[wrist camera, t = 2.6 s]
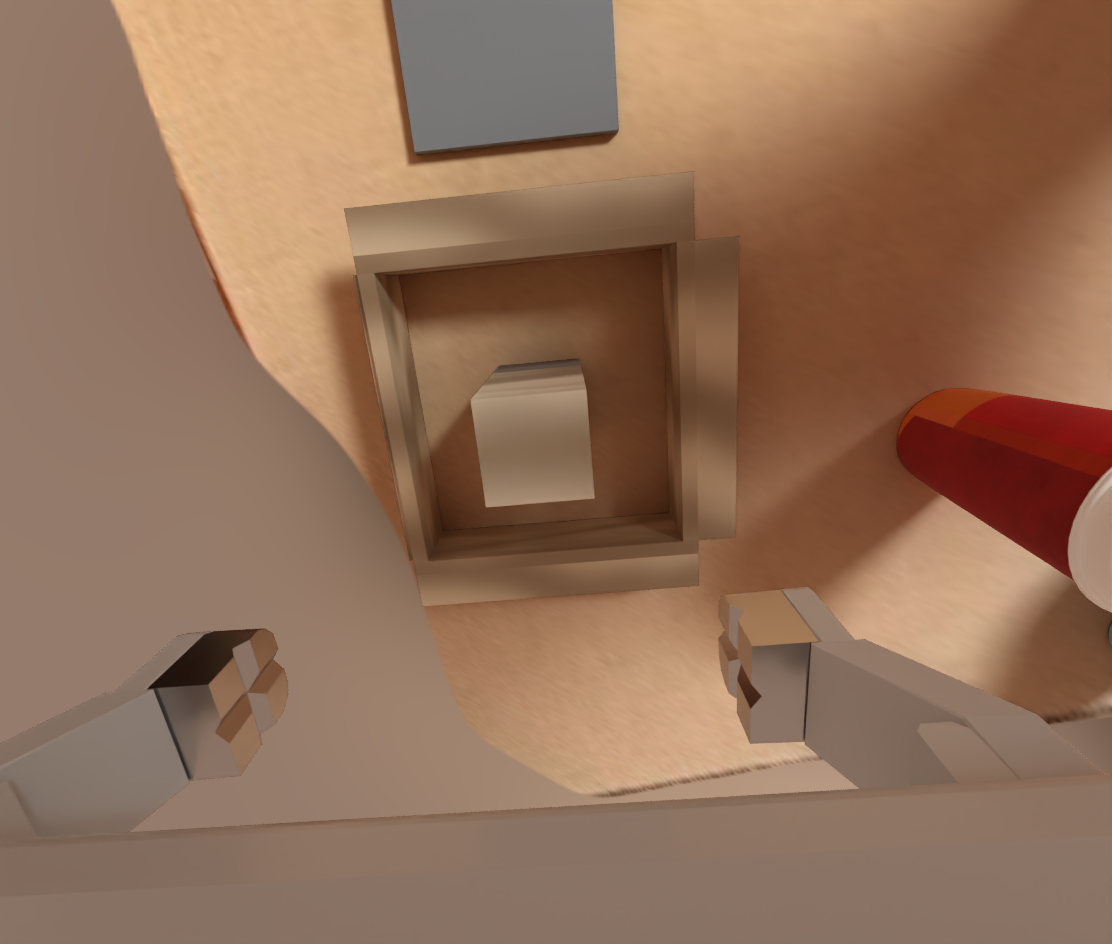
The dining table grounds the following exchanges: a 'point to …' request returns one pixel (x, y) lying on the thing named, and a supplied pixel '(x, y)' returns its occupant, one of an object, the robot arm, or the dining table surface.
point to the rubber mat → (506, 71)
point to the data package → (1110, 634)
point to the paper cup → (1023, 474)
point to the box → (534, 434)
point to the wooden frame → (690, 367)
